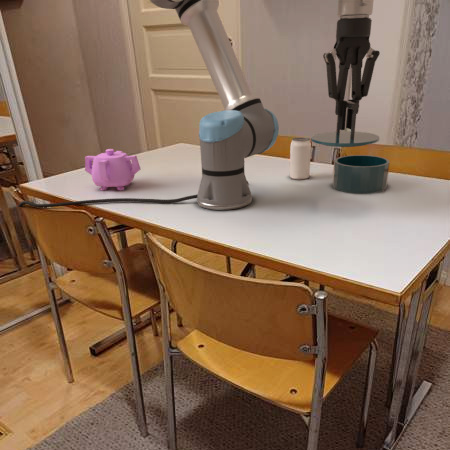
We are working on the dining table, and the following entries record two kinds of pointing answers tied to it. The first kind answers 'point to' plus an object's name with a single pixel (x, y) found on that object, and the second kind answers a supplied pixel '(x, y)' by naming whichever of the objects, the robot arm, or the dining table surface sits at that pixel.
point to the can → (300, 158)
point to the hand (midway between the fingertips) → (345, 128)
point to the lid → (346, 134)
